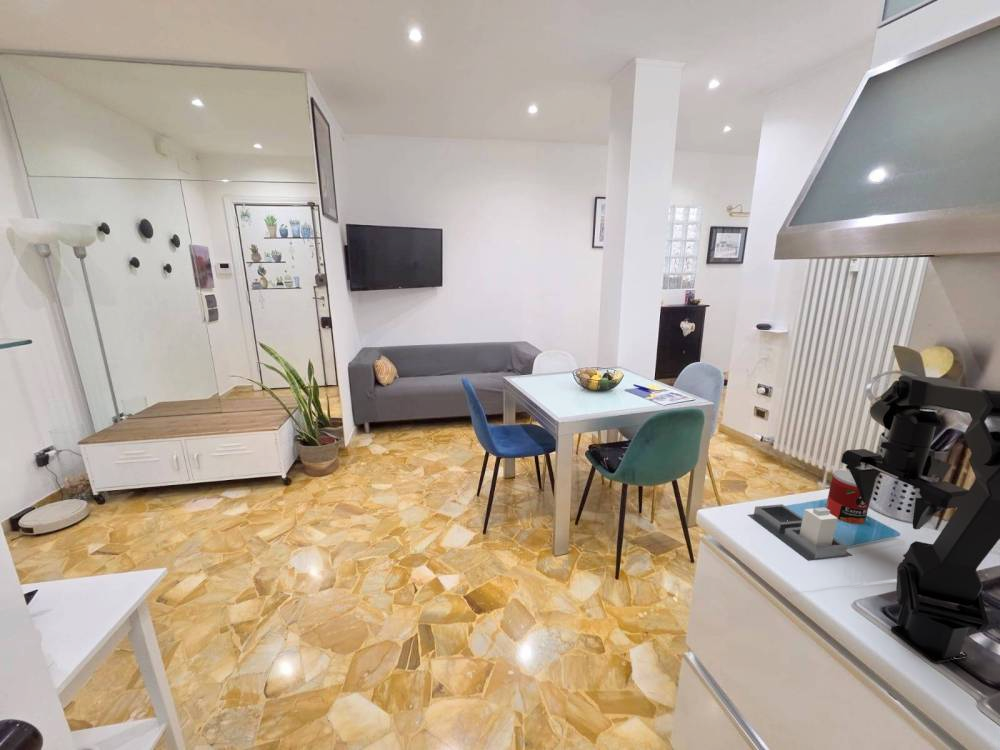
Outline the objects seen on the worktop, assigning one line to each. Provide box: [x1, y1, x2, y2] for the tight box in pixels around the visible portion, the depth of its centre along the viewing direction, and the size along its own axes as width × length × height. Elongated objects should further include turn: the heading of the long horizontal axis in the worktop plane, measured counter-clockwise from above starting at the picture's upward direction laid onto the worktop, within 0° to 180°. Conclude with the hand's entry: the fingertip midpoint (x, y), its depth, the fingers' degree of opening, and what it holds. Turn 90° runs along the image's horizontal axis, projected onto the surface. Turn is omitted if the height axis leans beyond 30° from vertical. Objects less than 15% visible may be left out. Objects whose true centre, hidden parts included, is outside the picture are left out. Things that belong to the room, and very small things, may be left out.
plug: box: [799, 506, 839, 547], centre depth 88 cm, size 4×4×9 cm
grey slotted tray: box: [747, 503, 853, 562], centre depth 93 cm, size 17×11×3 cm, turn 9°
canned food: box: [825, 469, 875, 525], centre depth 100 cm, size 8×8×11 cm
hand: (889, 515), depth 80 cm, fingers open, 9 cm apart
